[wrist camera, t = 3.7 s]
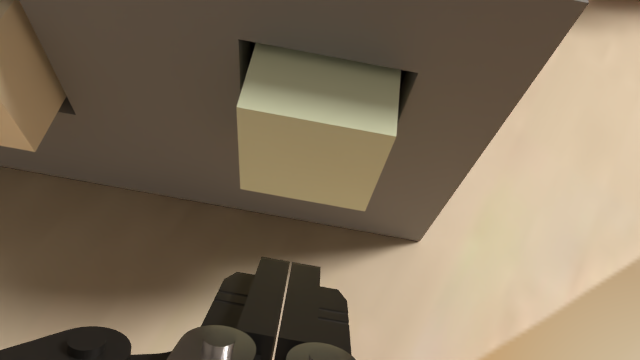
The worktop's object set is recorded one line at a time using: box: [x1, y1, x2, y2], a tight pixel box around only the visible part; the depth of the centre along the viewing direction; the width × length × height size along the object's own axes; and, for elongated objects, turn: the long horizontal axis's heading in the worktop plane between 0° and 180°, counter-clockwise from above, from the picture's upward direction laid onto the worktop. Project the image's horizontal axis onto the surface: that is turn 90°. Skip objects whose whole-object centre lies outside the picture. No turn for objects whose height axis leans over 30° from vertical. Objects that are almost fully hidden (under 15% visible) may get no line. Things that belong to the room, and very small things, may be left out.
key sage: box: [236, 43, 401, 211], centre depth 15 cm, size 4×4×4 cm
